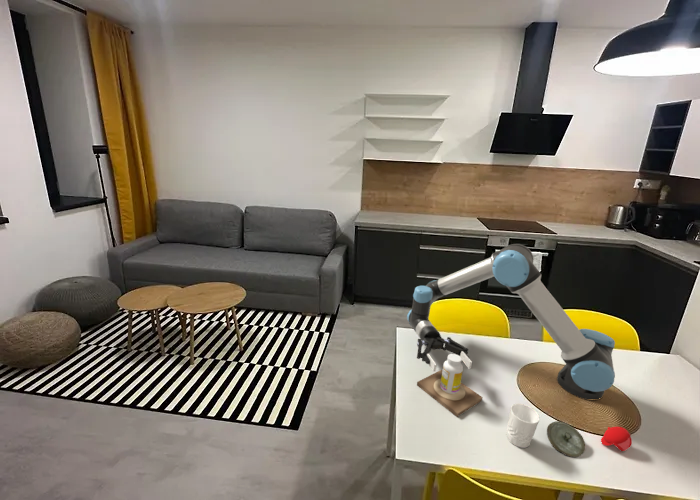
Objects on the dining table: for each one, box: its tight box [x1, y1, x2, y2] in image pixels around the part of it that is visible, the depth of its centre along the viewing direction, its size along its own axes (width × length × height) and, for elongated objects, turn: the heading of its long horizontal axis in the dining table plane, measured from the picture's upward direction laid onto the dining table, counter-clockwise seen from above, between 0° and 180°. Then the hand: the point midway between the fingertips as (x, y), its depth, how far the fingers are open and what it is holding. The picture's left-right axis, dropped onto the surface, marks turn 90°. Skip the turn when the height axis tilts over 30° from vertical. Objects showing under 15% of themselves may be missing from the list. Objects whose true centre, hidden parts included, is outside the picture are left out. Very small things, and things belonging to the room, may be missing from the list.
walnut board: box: [416, 369, 483, 418], centre depth 126 cm, size 18×14×2 cm
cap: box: [600, 426, 633, 452], centre depth 108 cm, size 8×6×6 cm
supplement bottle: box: [440, 353, 464, 394], centre depth 123 cm, size 7×7×13 cm
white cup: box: [505, 403, 541, 449], centre depth 107 cm, size 8×8×10 cm
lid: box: [546, 420, 586, 458], centre depth 107 cm, size 11×10×5 cm
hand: (453, 366), depth 122 cm, fingers open, 13 cm apart
